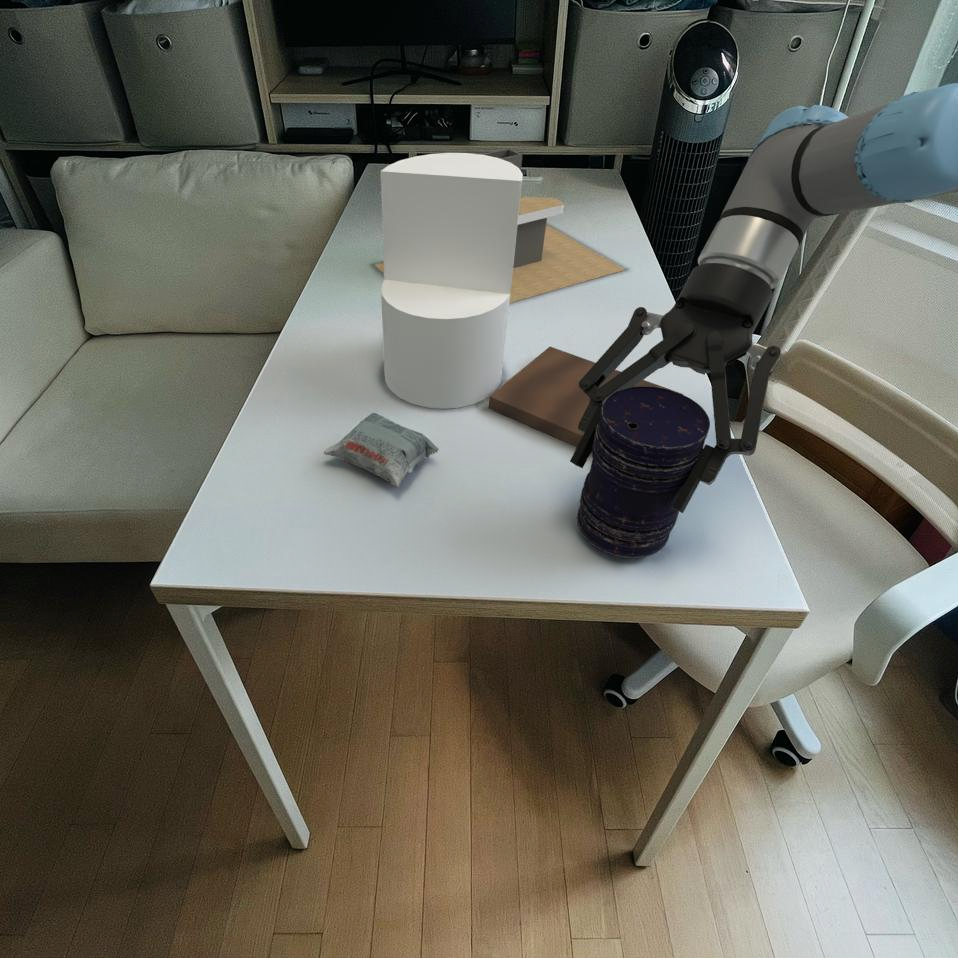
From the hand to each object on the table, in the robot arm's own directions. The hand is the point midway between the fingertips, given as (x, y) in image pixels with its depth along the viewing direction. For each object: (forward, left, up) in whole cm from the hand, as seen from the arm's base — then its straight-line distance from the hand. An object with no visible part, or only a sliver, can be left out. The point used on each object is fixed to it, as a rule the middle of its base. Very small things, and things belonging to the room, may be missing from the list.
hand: (624, 486), depth 65 cm
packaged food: (+28, +5, -9) cm, 30 cm away
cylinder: (+34, -16, -9) cm, 39 cm away
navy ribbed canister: (0, -3, -8) cm, 9 cm away
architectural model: (+47, -50, -9) cm, 70 cm away
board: (+14, -21, -9) cm, 27 cm away
